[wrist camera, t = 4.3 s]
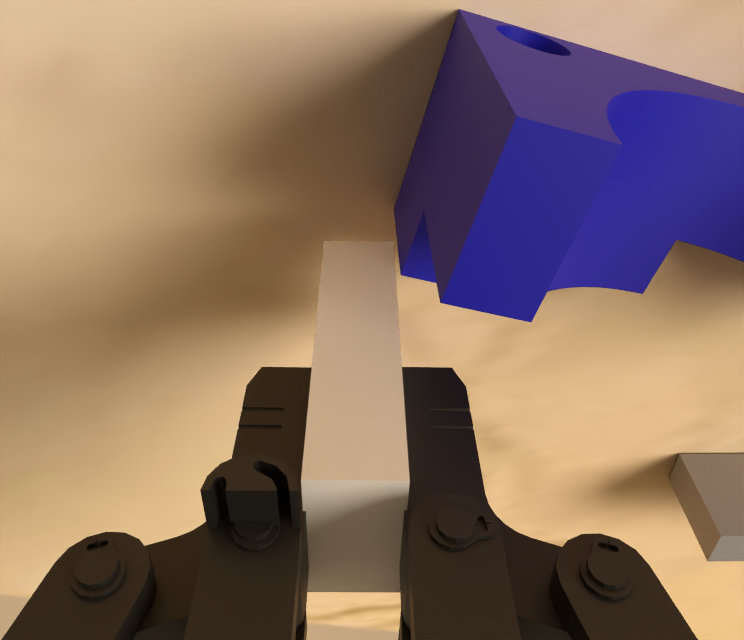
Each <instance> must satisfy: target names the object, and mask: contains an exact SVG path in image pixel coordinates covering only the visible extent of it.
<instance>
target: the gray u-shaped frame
mask: <svg viewBox="0 0 744 640" xmlns="http://www.w3.org/2000/svg"><path fill="white" fill-rule="evenodd" d="M669 481H670V483H671V485H672V487H673V489H674V491H675V493H676V495H677V498H678V500H679V502H680V504H681V506H682V508H683V510H684V512H685V514H686V517H687V519H688V521H689V523H690V525H691V527H692V529H693V531H694V534H695V536H696V538H697V540H698V542H699V544H700V546H701V548H702V551H703V553H704V555H705V557H706V559H707V561H744V453H737V454H679V456H678V459H677V461H676V463H675V466H674V468H673V470H672V473H671V475H670V477H669Z"/></svg>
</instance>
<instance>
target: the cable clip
mask: <svg viewBox="0 0 744 640" xmlns="http://www.w3.org/2000/svg"><path fill="white" fill-rule="evenodd" d="M394 214H395V224H396V234H397V243H398V253H399V263H400V272H401V275H403V276H407V277H412V278H416V279H421V280H425V281H430V282H434V283H437V287H438V292H439V298H440V303H444V304H448V305H453V306H458V307H462V308H467V309H472V310H476V311H481V312H486V313H490V314H495V315H500V316H504V317H509V318H514V319H518V320H523V321H528V322H532V320H533V318H534V316H535V314H536V312H537V310H538V308H539V306H540V304H541V302H542V300H543V299H544V297H545V295H546V293H547V292H548V291H551V290H556V289H562V288H571V287H601V288H611V289H619V290H625V291H631V292H636V293H641V294H643V292H644V291H645V289H646V288H647V286H648V284H649V283H650V281H651V279H652V278H653V276H654V275H655V273H656V271H657V270H658V268H659V267H660V265H661V263H662V262H663V260H664V259H665V257H666V255H667V254H668V252H669V250H670V249H671V247H672V246H673V244H674V242H675V241H676V240H679V241H682V242H686V243H690V244H693V245H696V246H700V247H703V248H706V249H709V250H712V251H715V252H718V253H721V254H724V255H727V256H730V257H732V258H735V259H737V260H740V261H743V262H744V94H743V93H740V92H737V91H733V90H730V89H727V88H723V87H720V86H716V85H713V84H710V83H706V82H703V81H700V80H696V79H693V78H689V77H686V76H683V75H679V74H676V73H673V72H669V71H666V70H663V69H659V68H656V67H652V66H649V65H646V64H642V63H639V62H636V61H632V60H629V59H625V58H622V57H619V56H615V55H612V54H609V53H605V52H602V51H598V50H595V49H592V48H588V47H585V46H582V45H578V44H575V43H572V42H568V41H565V40H561V39H558V38H555V37H551V36H548V35H545V34H541V33H538V32H534V31H531V30H528V29H524V28H521V27H518V26H514V25H511V24H507V23H504V22H501V21H497V20H494V19H491V18H487V17H484V16H481V15H477V14H474V13H470V12H467V11H464V10H460V9H459V10H458V14H457V17H456V20H455V23H454V26H453V29H452V32H451V35H450V38H449V41H448V44H447V47H446V50H445V53H444V57H443V60H442V63H441V66H440V69H439V72H438V75H437V78H436V81H435V84H434V87H433V90H432V93H431V96H430V99H429V103H428V106H427V109H426V112H425V115H424V118H423V121H422V124H421V127H420V130H419V133H418V136H417V139H416V142H415V146H414V149H413V152H412V155H411V158H410V161H409V164H408V167H407V170H406V173H405V176H404V179H403V182H402V185H401V188H400V192H399V195H398V198H397V201H396V204H395V207H394Z"/></svg>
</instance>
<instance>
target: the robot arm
mask: <svg viewBox="0 0 744 640" xmlns="http://www.w3.org/2000/svg"><path fill="white" fill-rule="evenodd" d="M200 491H201V496H202V501H203V506H204V511H205V517H206V522H205V523H204V524H202V525H201V526H199V527H198V528H196V529H194V530H193V531H191V532H189V533H186V534H183V535H181V536H178V537H175V538H172V539H168V540H164V541H161V542H157V543H154V544H150V545H147V546H144V545H143V544H142V542H141V541H140V540H139V539H137V538H135V537H133V536H131V535H129V534H126V533H120V532H104V533H101V534H97V535H93V536H90V537H87V538H85V539H83V540H81V541H80V542H78V543H76V544H75V545H73V546H71V547H70V548H68V549H67V551H66V552H65V553H64V554H63V555H62V556H61V557H60V558H59V559H58V560H57V561H56V562H55V563H54V565H53V566H52V568H51V569H50V571H49V572H48V573H47V575H46V576H45V578H44V579H43V581H42V582H41V584H40V585H39V586H38V588H37V589H36V591H35V592H34V594H33V595H32V596H31V598H30V599H29V601H28V602H27V604H26V605H25V607H24V608H23V610H22V611H21V612H20V614H19V615H18V617H17V618H16V620H15V621H14V623H13V624H12V626H11V627H10V628H9V630H8V631H7V633H6V634H5V635H4V637H3V638H2V640H306V634H307V620H306V601H307V592H400V593H401V617H400V628H399V639H398V640H698V639H697V638H696V636H695V635H694V633H693V632H692V630H691V629H690V627H689V625H688V624H687V622H686V621H685V619H684V618H683V616H682V615H681V613H680V612H679V610H678V609H677V607H676V606H675V604H674V602H673V601H672V599H671V598H670V596H669V595H668V593H667V592H666V590H665V589H664V587H663V586H662V584H661V582H660V581H659V579H658V578H657V576H656V575H655V573H654V572H653V570H652V569H651V567H650V566H649V564H648V563H647V562H646V561H645V560H644V559H643V558H642V556H641V555H640V554H639V553H638V552H637V551H636V550H635V549H633V548H632V547H630V546H629V545H627V544H625V543H624V542H622V541H621V540H619V539H616V538H613V537H610V536H606V535H603V534H581V535H579V536H577V537H574V538H572V539H570V540H568V541H567V542H566V543H565V544H564V546H563V547H560V546H557V545H553V544H550V543H547V542H543V541H540V540H537V539H533V538H530V537H528V536H525V535H523V534H520V533H518V532H516V531H515V530H513V529H511V528H510V527H508V526H507V525H505V524H504V523H503V522H502V521H501V520H500V519H499V518H498V517H497V516H496V515H495V513H494V512H493V510H492V509H491V507H490V506H489V504H488V501H487V498H486V495H485V490H484V485H483V479H482V474H481V468H480V462H479V457H478V451H477V446H476V440H475V435H474V430H473V423H472V418H471V412H470V407H469V401H468V395H467V390H466V386H465V385H464V383H463V382H462V381H461V380H460V378H459V377H458V376H457V374H456V373H455V372H454V370H453V369H452V368H434V367H402V361H401V347H400V332H399V318H398V303H397V289H396V274H395V260H394V245H393V242H372V241H324V245H323V255H322V266H321V276H320V287H319V297H318V307H317V318H316V328H315V339H314V349H313V360H312V368H301V367H262V368H261V369H260V370H259V371H258V373H257V374H256V375H255V376H254V377H253V379H252V380H251V381H250V382H249V384H248V385H247V387H246V392H245V397H244V402H243V407H242V411H241V416H240V421H239V429H238V431H237V436H236V440H235V445H234V450H233V455H232V459H230V460H228V461H226V462H224V463H221V464H220V465H219V466H218V467H217V468H215V469H214V470H213V471H212V472H211V473H210V474H209V475H208V476H207V478H206V480H205V482H204V484H203V486H202V488H201V490H200Z"/></svg>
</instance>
